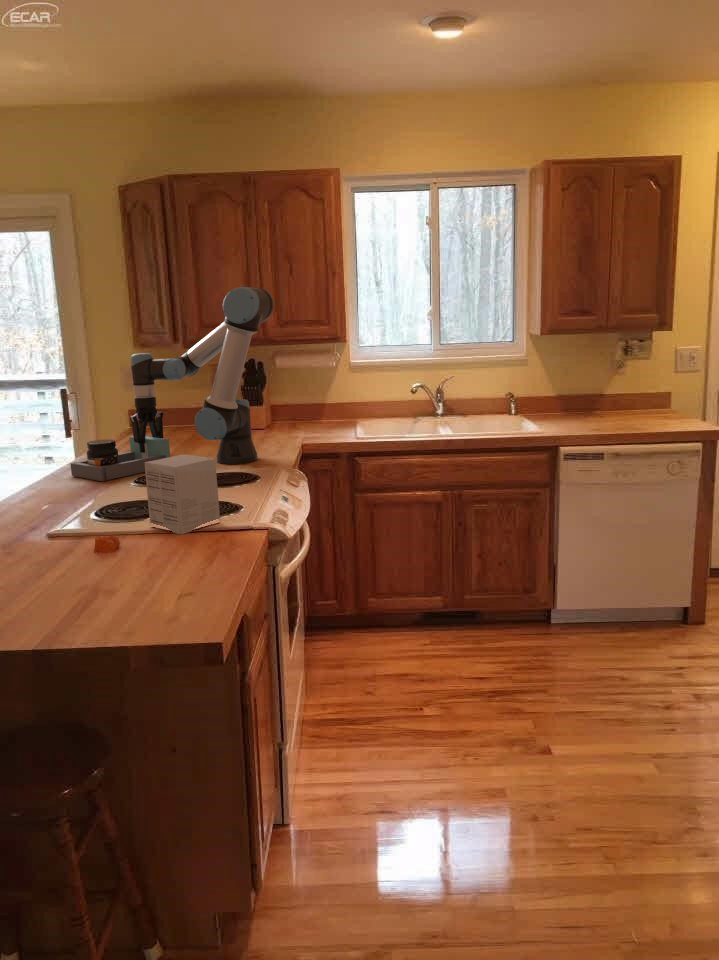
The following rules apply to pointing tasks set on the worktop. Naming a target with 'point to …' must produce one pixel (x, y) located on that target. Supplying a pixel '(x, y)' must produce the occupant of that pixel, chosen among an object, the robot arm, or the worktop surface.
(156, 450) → the gray open tray
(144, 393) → the robot arm
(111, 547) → the rock
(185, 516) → the supplement box
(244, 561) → the worktop surface
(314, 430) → the worktop surface
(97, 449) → the supplement container
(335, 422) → the worktop surface
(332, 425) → the worktop surface
